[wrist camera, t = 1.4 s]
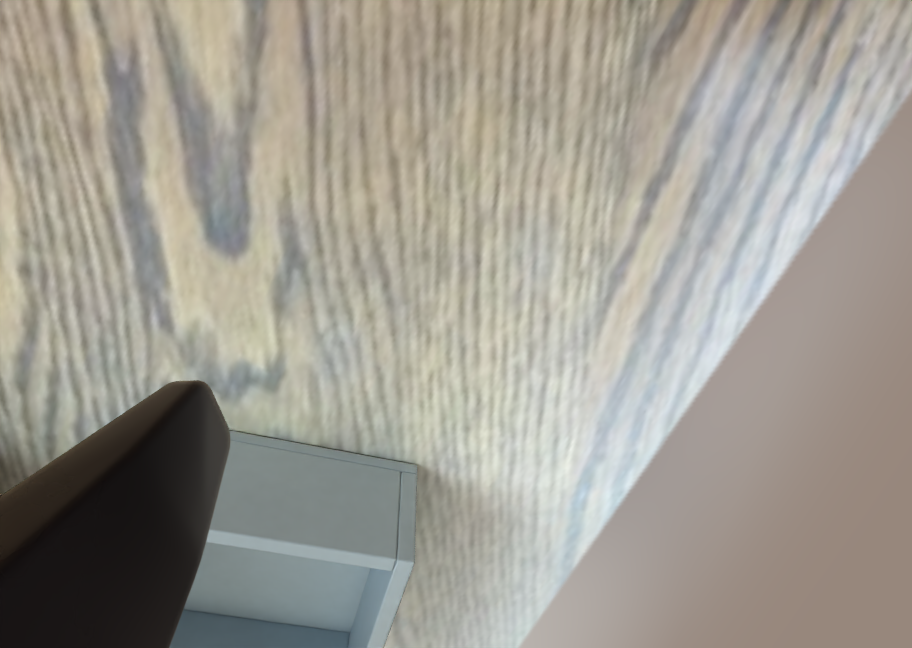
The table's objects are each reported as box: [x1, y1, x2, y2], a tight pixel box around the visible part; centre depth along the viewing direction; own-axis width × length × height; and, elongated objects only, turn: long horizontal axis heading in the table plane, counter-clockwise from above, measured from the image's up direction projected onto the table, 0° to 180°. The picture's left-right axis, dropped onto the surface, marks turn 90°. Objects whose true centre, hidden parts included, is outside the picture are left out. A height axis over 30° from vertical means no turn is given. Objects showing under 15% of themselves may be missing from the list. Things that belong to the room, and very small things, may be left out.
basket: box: [169, 430, 417, 648], centre depth 25 cm, size 10×10×4 cm
